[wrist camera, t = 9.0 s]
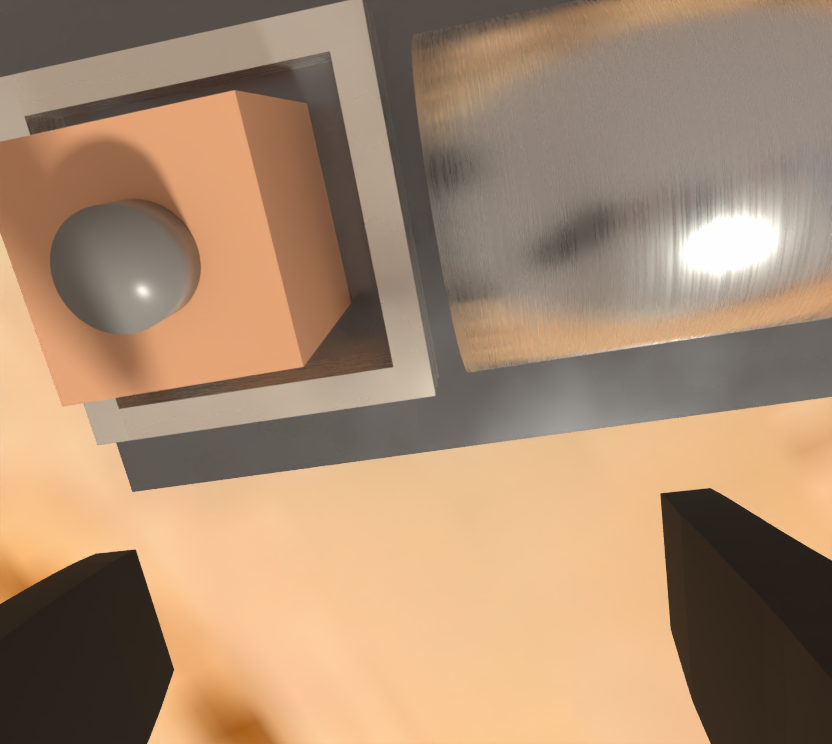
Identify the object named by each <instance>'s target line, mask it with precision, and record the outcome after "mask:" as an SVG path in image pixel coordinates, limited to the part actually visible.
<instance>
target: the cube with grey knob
mask: <svg viewBox="0 0 832 744" xmlns="http://www.w3.org/2000/svg"><path fill="white" fill-rule="evenodd" d="M0 233H1V236H2V238H3V241H4V244H5V247H6V250H7V252H8V255H9V258H10V261H11V264H12V266H13V269H14V272H15V275H16V278H17V280H18V283H19V286H20V289H21V292H22V294H23V297H24V300H25V303H26V306H27V308H28V311H29V314H30V317H31V320H32V322H33V325H34V328H35V331H36V334H37V336H38V339H39V342H40V345H41V348H42V350H43V353H44V356H45V359H46V362H47V364H48V367H49V370H50V373H51V376H52V379H53V381H54V384H55V387H56V390H57V393H58V395H59V398H60V401H61V404H62V407H63V406H69V405H75V404H81V403H87V402H93V401H99V400H105V399H112V398H118V397H124V396H130V395H136V394H142V393H148V392H154V391H160V390H166V389H172V388H178V387H184V386H191V385H197V384H203V383H209V382H215V381H221V380H227V379H233V378H239V377H245V376H251V375H257V374H264V373H270V372H276V371H282V370H288V369H294V368H300V367H304V366H305V364H306V363H307V362H308V360H309V359H310V358H311V356H312V355H313V354H314V352H315V351H316V350H317V348H318V347H319V346H320V344H321V343H322V342H323V340H324V339H325V337H326V336H327V335H328V333H329V332H330V331H331V329H332V328H333V327H334V325H335V324H336V323H337V321H338V320H339V319H340V317H341V316H342V315H343V313H344V312H345V311H346V309H347V308H348V307H349V305H350V304H351V299H350V295H349V290H348V286H347V281H346V277H345V272H344V268H343V263H342V259H341V254H340V250H339V245H338V241H337V236H336V232H335V227H334V223H333V218H332V214H331V209H330V205H329V200H328V196H327V191H326V187H325V182H324V178H323V173H322V169H321V164H320V160H319V156H318V151H317V147H316V142H315V138H314V133H313V129H312V124H311V120H310V115H309V111H308V106H307V103H303V102H297V101H292V100H286V99H281V98H275V97H270V96H264V95H259V94H253V93H248V92H242V91H237V90H233V91H228V92H224V93H219V94H215V95H210V96H206V97H201V98H197V99H192V100H187V101H183V102H178V103H174V104H169V105H165V106H160V107H156V108H151V109H146V110H142V111H137V112H133V113H128V114H124V115H119V116H115V117H110V118H106V119H101V120H96V121H92V122H87V123H83V124H78V125H74V126H69V127H65V128H60V129H56V130H51V131H46V132H42V133H37V134H33V135H28V136H24V137H19V138H15V139H10V140H5V141H1V142H0Z"/></svg>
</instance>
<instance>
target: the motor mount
mask: <svg viewBox="0 0 832 744" xmlns="http://www.w3.org/2000/svg"><path fill="white" fill-rule="evenodd" d="M233 90H237V91H242V92H248V93H253V94H259V95H264V96H270V97H275V98H281V99H286V100H292V101H297V102H303V103H307V106H308V111H309V115H310V120H311V124H312V129H313V133H314V138H315V142H316V147H317V151H318V156H319V160H320V164H321V169H322V173H323V178H324V182H325V187H326V191H327V196H328V200H329V205H330V209H331V214H332V218H333V223H334V227H335V232H336V236H337V241H338V245H339V250H340V254H341V259H342V263H343V268H344V272H345V277H346V281H347V286H348V290H349V295H350V299H351V304H350V305H349V307H348V308H347V309H346V311H345V312H344V313H343V315H342V316H341V317H340V319H339V320H338V321H337V323H336V324H335V325H334V327H333V328H332V329H331V331H330V332H329V333H328V335H327V336H326V337H325V339H324V340H323V342H322V343H321V344H320V346H319V347H318V348H317V350H316V351H315V352H314V354H313V355H312V356H311V358H310V359H309V360H308V362H307V363H306V364H305V366H304V367H300V368H294V369H288V370H282V371H276V372H270V373H264V374H257V375H251V376H245V377H239V378H233V379H227V380H221V381H215V382H209V383H203V384H197V385H191V386H184V387H178V388H172V389H166V390H160V391H154V392H148V393H142V394H136V395H130V396H124V397H118V398H112V399H105V400H99V401H93V402H87V403H83V404H84V407H85V409H86V412H87V415H88V418H89V421H90V424H91V427H92V430H93V433H94V436H95V439H96V442H97V445H103V444H109V443H117V446H118V449H119V452H120V455H121V458H122V461H123V464H124V467H125V470H126V474H127V477H128V480H129V483H130V486H131V489H132V492H135V491H143V490H150V489H157V488H165V487H172V486H179V485H187V484H194V483H201V482H209V481H216V480H223V479H231V478H238V477H245V476H253V475H260V474H267V473H275V472H282V471H290V470H297V469H304V468H312V467H319V466H326V465H334V464H341V463H348V462H356V461H363V460H370V459H378V458H385V457H392V456H400V455H407V454H414V453H422V452H429V451H436V450H444V449H451V448H458V447H466V446H473V445H480V444H488V443H495V442H502V441H510V440H517V439H524V438H532V437H539V436H546V435H554V434H561V433H568V432H576V431H583V430H590V429H598V428H605V427H612V426H620V425H627V424H634V423H642V422H649V421H657V420H664V419H671V418H679V417H686V416H693V415H701V414H708V413H715V412H723V411H730V410H737V409H745V408H752V407H759V406H767V405H774V404H781V403H789V402H796V401H803V400H811V399H818V398H825V397H832V0H0V142H1V141H5V140H10V139H15V138H19V137H24V136H28V135H33V134H37V133H42V132H46V131H51V130H56V129H60V128H65V127H69V126H74V125H78V124H83V123H87V122H92V121H96V120H101V119H106V118H110V117H115V116H119V115H124V114H128V113H133V112H137V111H142V110H146V109H151V108H156V107H160V106H165V105H169V104H174V103H178V102H183V101H187V100H192V99H197V98H201V97H206V96H210V95H215V94H219V93H224V92H228V91H233Z"/></svg>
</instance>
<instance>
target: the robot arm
mask: <svg viewBox="0 0 832 744" xmlns="http://www.w3.org/2000/svg"><path fill="white" fill-rule="evenodd" d="M661 507H662V520H663V533H664V546H665V559H666V572H667V586H668V599H669V612H670V625H671V631H672V635H673V638H674V641H675V645H676V648H677V652H678V655H679V658H680V662H681V665H682V669H683V672H684V675H685V678H686V682H687V685H688V688H689V691H690V694H691V698H692V701H693V703H694V706H695V708H696V710H697V713H698V715H699V717H700V720H701V722H702V724H703V727H704V729H705V731H706V734H707V736H708V738H709V741H710V743H711V744H832V561H831V560H830V559H828V558H826V557H824V556H823V555H821V554H819V553H817V552H816V551H814V550H812V549H811V548H809V547H807V546H806V545H804V544H802V543H800V542H799V541H797V540H795V539H794V538H792V537H790V536H789V535H787V534H785V533H784V532H782V531H780V530H779V529H777V528H776V527H774V526H772V525H771V524H769V523H767V522H766V521H764V520H763V519H761V518H759V517H758V516H756V515H754V514H753V513H751V512H750V511H748V510H746V509H745V508H743V507H742V506H740V505H738V504H737V503H735V502H733V501H732V500H730V499H728V498H727V497H725V496H723V495H722V494H720V493H718V492H716V491H714V490H713V489H711V488H707V489H698V490H689V491H679V492H670V493H661ZM173 671H174V668H173V665H172V662H171V659H170V655H169V652H168V649H167V646H166V643H165V640H164V637H163V634H162V630H161V627H160V624H159V621H158V618H157V615H156V612H155V609H154V605H153V602H152V599H151V596H150V593H149V590H148V587H147V584H146V580H145V577H144V574H143V571H142V568H141V565H140V562H139V559H138V555H137V552H136V550H127V551H117V552H108V553H99V554H94V555H92V556H90V557H87V558H85V559H82V560H80V561H78V562H76V563H74V564H72V565H70V566H68V567H66V568H64V569H62V570H60V571H58V572H56V573H54V574H52V575H51V576H49V577H47V578H45V579H43V580H41V581H40V582H38V583H36V584H34V585H33V586H31V587H29V588H27V589H26V590H24V591H22V592H20V593H19V594H17V595H15V596H13V597H12V598H10V599H8V600H6V601H5V602H3V603H1V604H0V744H147V742H148V740H149V738H150V736H151V733H152V730H153V728H154V725H155V723H156V720H157V717H158V715H159V712H160V710H161V707H162V704H163V701H164V698H165V695H166V692H167V689H168V686H169V683H170V680H171V677H172V674H173Z"/></svg>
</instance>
